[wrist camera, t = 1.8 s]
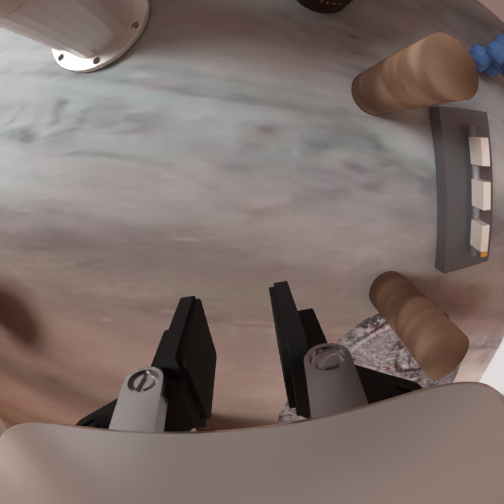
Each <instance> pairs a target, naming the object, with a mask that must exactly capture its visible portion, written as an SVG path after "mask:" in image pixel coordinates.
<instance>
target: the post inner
mask: <svg viewBox="0 0 504 504" xmlns="http://www.w3.org/2000/svg"><path fill="white" fill-rule="evenodd" d="M477 89H478V72H477V68H476V65H475V62H474V60H473V58H472V56H471V55H470V53H469V52H468V50H467V49H466V48H465V46H464V45H463V44H462V43H461V42H460V41H459V40H457V39H456V38H455V37H453V36H451V35H449V34H447V33H443V32H437V33H434V34H432V35H430V36H428V37H426V38H424V39H422V40H420V41H418V42H416V43H414V44H412V45H410V46H408V47H407V48H405V49H403V50H401V51H399V52H397V53H396V54H394V55H392V56H390V57H388V58H387V59H385V60H383V61H381V62H380V63H378V64H376V65H374V66H373V67H371V68H369V69H368V70H366V71H364V72H363V73H361V74H359V75H358V76H357V77H356V78H355V79H354V81H353V83H352V96H353V99H354V101H355V103H356V104H357V105H358V107H359V108H360V109H361V110H363V111H364V112H366V113H368V114H370V115H376V116H377V115H383V114H387V113H392V112H397V111H402V110H407V109H412V108H417V107H423V106H429V105H434V104H441V103H447V102H454V101H461V100H468V99H470V98H472V97H473V96H474V95H475V93H476V92H477Z"/></svg>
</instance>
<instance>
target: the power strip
mask: <svg viewBox="0 0 504 504" xmlns="http://www.w3.org/2000/svg"><path fill="white" fill-rule="evenodd" d="M429 112H430V118H431V125H432V133H433V141H434V151H435V163H436V178H437V249H436V265H435V268H437V269H438V270H439V271H441V272H442V273H447V272H451V271H454V270H458V269H461V268H464V267H468V266H471V265H474V264H478V263H481V262H484V261H487V260H488V255H489V246H490V235H491V221H492V160H491V146H490V136H489V127H488V119H487V112H480V111H473V110H466V109H457V108H448V107H433V108H429ZM468 125H475V126H476V135H477V137H483V138H488V142H489V154H490V166H480V165H479V177H480V179H482V180H485V181H489V182H491V209H490V210H481V209H480V212H479V219H480V220H481V221H483V222H485V223H487V224H489V225H490V228H489V241H488V251H484V252H480V251H478V250H477V255H476V256H471V255H470V246H471V245H470V235H471V219H472V207H473V205H472V180H471V179H472V164H471V159H470V147H469V129H468Z"/></svg>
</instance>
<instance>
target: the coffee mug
mask: <svg viewBox="0 0 504 504" xmlns="http://www.w3.org/2000/svg"><path fill="white" fill-rule="evenodd" d="M297 1H298V2H299V3H300V4H301V5H303V6H304V7H306V8H308V9H310V10H312V11H315V12H319V13H335V12H338V11H340V10H342V9H343V8H344V7H345V6H346V5H348V4H349V3H350V2H351V1H353V0H297Z"/></svg>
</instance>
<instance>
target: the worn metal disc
mask: <svg viewBox="0 0 504 504" xmlns="http://www.w3.org/2000/svg"><path fill="white" fill-rule="evenodd" d="M439 310H440V309H439ZM440 311H441V310H440ZM441 312H442V313H443V314H444V315H445V316H446V317H447V318H448V319H449V317H448V315H447V314H446V313H444V312H443V311H441ZM456 326H457V325H456ZM457 327H458V326H457ZM336 344H340V345H342V346H344V347H346V348H347V349H348V350H349V352H350V353H351V356H352V358H353V361H354V364H355V365H358V366H362V367H365V368H368V369H372V370H375V371H379V372H382V373H386V374H389V375H393V376H396V377H400V378H404V379H408V380H411V381H414V382H416V383H418V384H419V385H420V386H421V387H422V388H427V387H429V385H442V384H447V383H452V382H453V381H454V379H455V377H456V374H457V371H458V369H459V366H460V364H459V365H458V366H457V367H456V368H455V369H454V370H453V371H452V372H451V373H449V374H448V375H446V376H444V377H442V378H440V379H435V380H434V379H429V378H428V377H427V376H426V375H425V373H424V372H423V370H422V369H421V367H420V366H419V365H418V363H417V362H416V361H415V359H414V358H413V356H412V355H411V354H410V352H409V351H408V350H407V348H406V347H405V345H404V344H403V343H402V341H401V340H400V339H399V337H398V336H397V335H396V333H395V332H394V331H393V330H392V328H391V327H390V326H389V324H388V323H387V322H386V320H385V319H384V318H383V317H382V315H381V314H380V313H379V314H377V315H375V316H372V317H370V318H368V319H366V320H364V321H362V322H361V323H360V324H359V325H357V326H356V327H355V328H354V329H352V330H351V331H350V332H349V333H348V334H346V335H345V336H344V337H343V338H341V339H340V340H339V341H338V342H337V343H336ZM303 419H306V418H304V417H302V416H297V415H296V410H295V408H292V409H289V404H288V400H287V403H286V404H285V406H284V407H283V409H282V411H281V412H280V415H279V420H278V422H277V424H279V423H286V422H292V421H298V420H303Z"/></svg>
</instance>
